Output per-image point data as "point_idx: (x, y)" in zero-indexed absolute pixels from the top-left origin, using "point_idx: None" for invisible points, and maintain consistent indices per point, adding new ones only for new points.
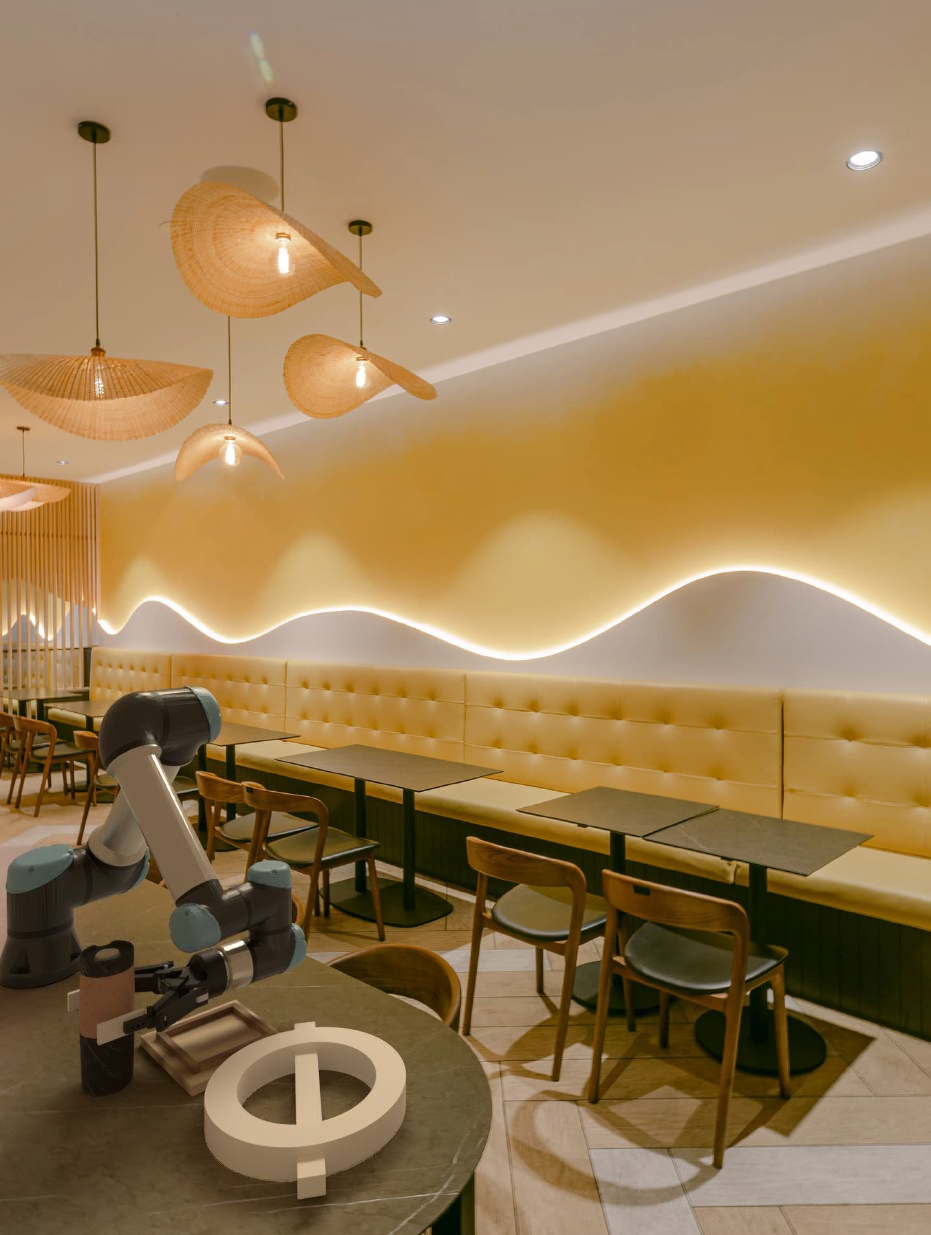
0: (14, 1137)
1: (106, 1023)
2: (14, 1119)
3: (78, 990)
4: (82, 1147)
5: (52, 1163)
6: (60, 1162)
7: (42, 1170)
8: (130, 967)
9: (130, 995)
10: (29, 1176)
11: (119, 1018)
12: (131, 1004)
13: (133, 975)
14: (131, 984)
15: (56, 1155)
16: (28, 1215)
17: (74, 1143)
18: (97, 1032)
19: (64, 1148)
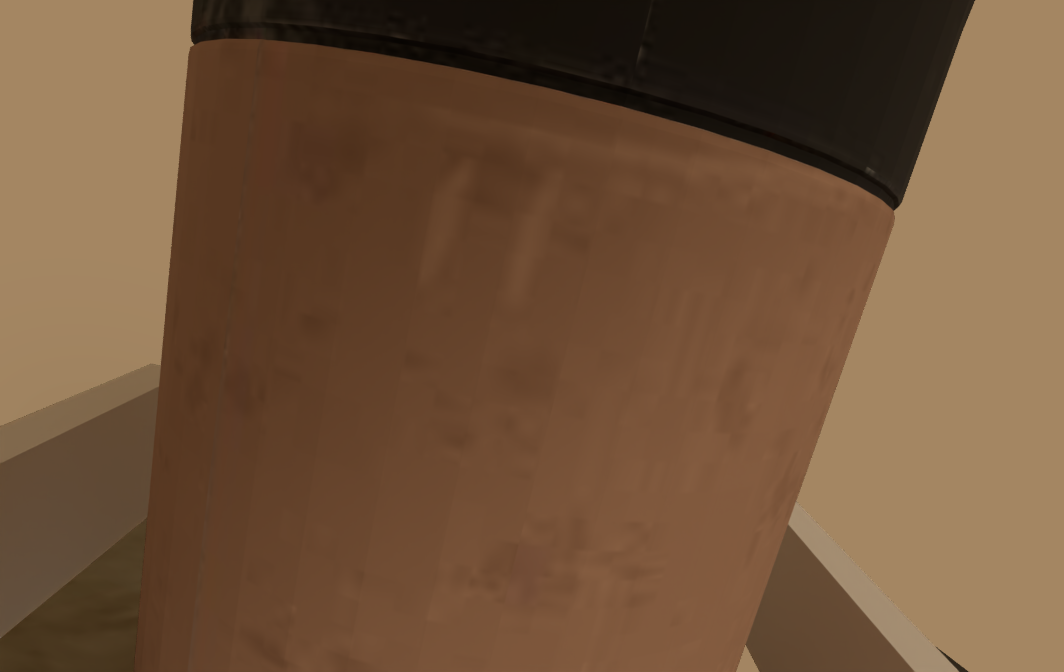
0: None
1: (116, 381)
2: None
3: (808, 527)
4: (23, 658)
5: (99, 576)
6: (68, 588)
7: (112, 553)
8: (206, 44)
9: (148, 506)
10: (137, 531)
11: (29, 417)
12: (143, 659)
13: (227, 288)
14: (167, 368)
15: (116, 597)
16: None
17: (86, 654)
18: None
19: (112, 624)
